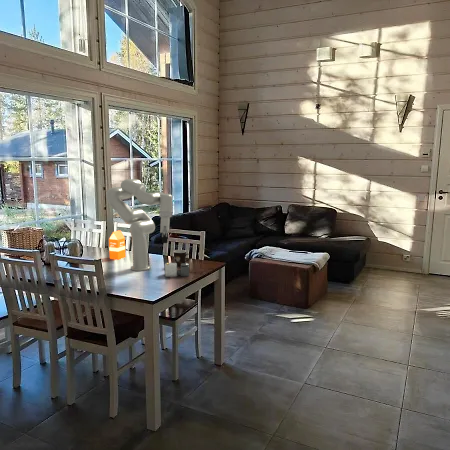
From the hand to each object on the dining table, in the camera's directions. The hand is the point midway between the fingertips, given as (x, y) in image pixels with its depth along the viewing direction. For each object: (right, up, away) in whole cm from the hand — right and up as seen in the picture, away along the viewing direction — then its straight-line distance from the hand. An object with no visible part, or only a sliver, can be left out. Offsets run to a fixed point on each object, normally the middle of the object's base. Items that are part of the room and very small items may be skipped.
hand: (164, 241), depth 253 cm
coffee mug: (+8, -18, +22) cm, 29 cm away
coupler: (+9, -21, +1) cm, 23 cm away
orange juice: (-41, -14, +44) cm, 62 cm away
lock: (+4, -21, 0) cm, 22 cm away
